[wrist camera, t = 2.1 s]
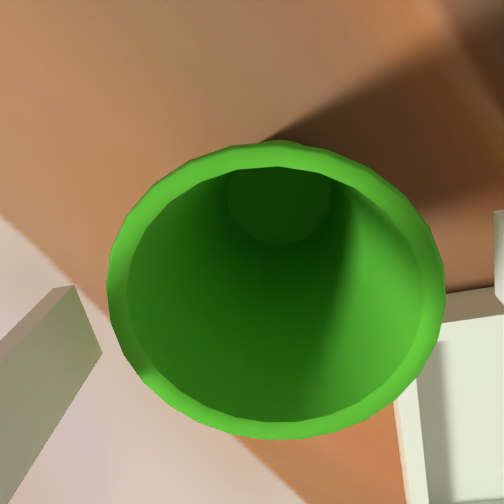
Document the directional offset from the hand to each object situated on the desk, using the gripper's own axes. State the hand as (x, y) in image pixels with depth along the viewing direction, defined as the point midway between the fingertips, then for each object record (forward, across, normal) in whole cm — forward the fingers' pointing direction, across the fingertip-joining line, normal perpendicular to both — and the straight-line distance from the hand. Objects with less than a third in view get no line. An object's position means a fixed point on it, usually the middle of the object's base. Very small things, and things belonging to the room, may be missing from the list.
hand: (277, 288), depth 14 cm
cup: (+9, 0, +1) cm, 9 cm away
